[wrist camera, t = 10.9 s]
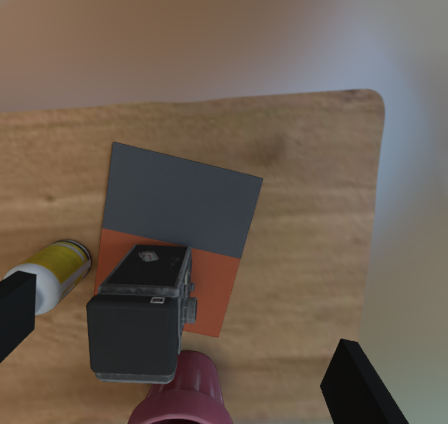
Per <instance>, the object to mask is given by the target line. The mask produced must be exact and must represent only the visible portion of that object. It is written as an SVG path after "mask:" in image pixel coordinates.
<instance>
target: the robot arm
mask: <svg viewBox="0 0 448 424" xmlns="http://www.w3.org/2000/svg"><path fill="white" fill-rule="evenodd" d="M36 280H37V274H33V273H28V272H24V271H19V270H17V271H16V272H14V273H13V274H11V275H10V276H8V277H7V278H5V279H3V280H2V281H0V363H1V362H2V361H3V360H4V359H5V358H6V357H7V356H8V355H9V354H10V353H11V352H12V351H13V350H14V349H15V348H16V347H17V346H18V345H19V344H20V343H21V342H22V341H23V340H24V339H25V338H26V337H27V336H28V335H29V334H30V333H31V332H32V331H33V330H34V326H35V303H36ZM320 388H321V390H322V393H323V396H324V398H325V401H326V404H327V407H328V409H329V412H330V415H331V417H332V420H333V423H334V424H409V423H408V421H407V420H406V418H405V417H404V415H403V414H402V412H401V410H400V409H399V407H398V406H397V404H396V402H395V401H394V399H393V398H392V396H391V394H390V393H389V391H388V390H387V388H386V387H385V385H384V383H383V382H382V380H381V379H380V377H379V375H378V374H377V372H376V371H375V369H374V367H373V366H372V364H371V363H370V361H369V359H368V358H367V356H366V355H365V353H364V352H363V350H362V348H361V347H360V345H359V344H358V342H355V341H350V340H346V339H340V342H339V344H338V346H337V348H336V351H335V353H334V355H333V358H332V360H331V362H330V364H329V367H328V369H327V371H326V373H325V376H324V378H323V380H322V383H321V385H320Z"/></svg>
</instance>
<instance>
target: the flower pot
mask: <svg viewBox="0 0 448 424" xmlns="http://www.w3.org/2000/svg"><path fill="white" fill-rule="evenodd" d="M128 424H233V422H232V419H231V417H230V414H229V413H228V411H227V410H226V409H225V406H224V401H223V397H222V392H221V387H220V383H219V379H218V374H217V370H216V367H215V365H214V363H213V362H212V360H211V359H210V358H209V357H207V356H206V355H204V354H202V353H199V352H196V351H182V352H180V354H177V367H176V372H175V376H174V378H173V380H172V381H170V382H169V383H167V384H153V385H152V387H151V389H150V391H149V392H148V394H147V396H146V398H145V400H143V401H142V402H141V403H140V404H139V405H138V406H137V407H136V408H135V409H134V411H133V412H132V414H131V416H130V418H129V421H128Z"/></svg>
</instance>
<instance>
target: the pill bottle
mask: <svg viewBox="0 0 448 424" xmlns="http://www.w3.org/2000/svg"><path fill="white" fill-rule="evenodd" d="M90 267H91V259H90V256H89V253H88V252H87V250H86V249H85V248H84V247H83V246H82V245H80V244H79V243H77V242H74V241H71V240H61V241H57V242H55V243H53V244H51V245H49V246H48V247H46V248H45V249H43V250H41V251H40V252H38V253H36V254H35V255H33V256H32V257H30V258H28V259H27V260H25V261H24V262H22V263H20V264H19V265H17V266H15V267H14V268H12V269H11V270H10V271H9V272H8V273H7V274H6V275H5V277H4V279H5V278H7V277H8V276H10V275H11V274H13V273H14V272H16V271H17V270H19V271H24V272H28V273H33V274H37V280H36V303H35V315H40V314H44V313H46V312H48V311H50V310H52V309H53V308H54V307H55V306H56V305H57V304H58V303H59V302H60V301H61V300H62V299H63V298H64V297H65V296H66V295H67V294H68V293H69V292H70V291H71V290H72V289H73V288H74V287H75V286H76V285H77V284H78V283H79V282H80V281H81V280H82V279H83V278H84V277H85V276H86V275H87V274H88V272H89V270H90Z"/></svg>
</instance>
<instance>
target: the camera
mask: <svg viewBox="0 0 448 424" xmlns="http://www.w3.org/2000/svg"><path fill="white" fill-rule="evenodd" d="M191 271H192V248H191V247H189V246H188V247H179V246H157V245H138V244H134V245H133V247H132V248H131V249H130V250H129V251H128V252H127V254H126V255H125V256H124V257H123V258H122V259H121V261H120V262H119V263H118V264H117V265H116V267H115V268H114V269H113V270H112V271H111V272H110V274H109V275H108V276H107V277H106V278H105V279H104V281H103V282H102V283H101V284H100V285H99V287H98V293H97V295H95V296H93V297H92V298H91V300H90V301H89V302H88V303H87V305H86V310H87V324H88V338H89V352H90V366H91V369H92V371H93V372H95V375H96V378H97V379H99V380H101V381H103V382H125V383H153V384H167V383H169V382H170V381H172V380H173V378H174V376H175V372H176V367H177V354H180V350H181V336H182V331H183V328H184V324H185V323H189V324H195V322H196V316H197V297H190V294H191V291H192V292H194V289H195V283H194V282H193V283H191Z"/></svg>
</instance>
